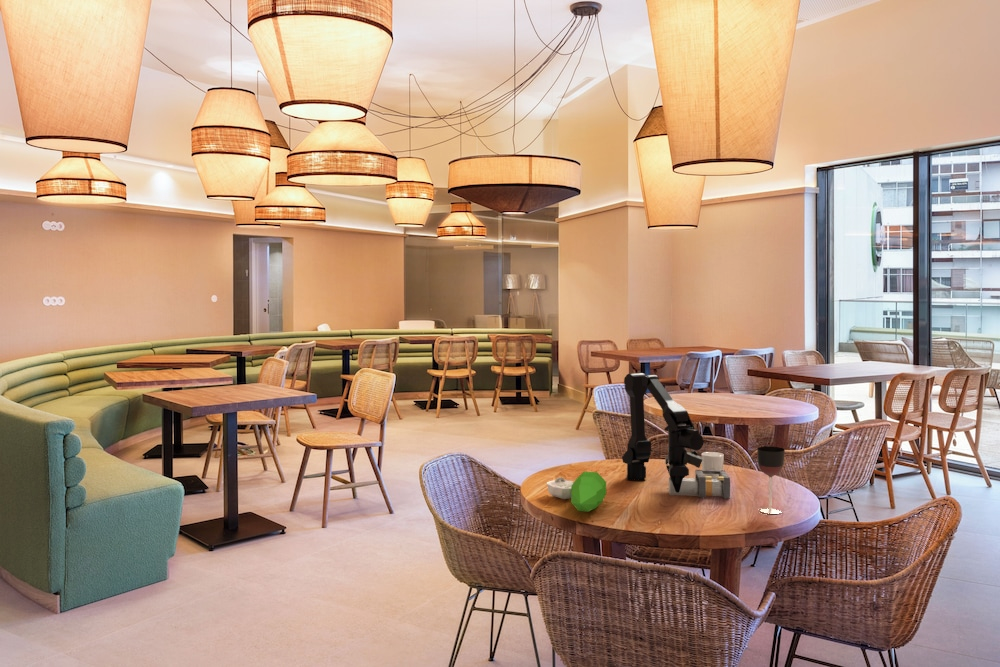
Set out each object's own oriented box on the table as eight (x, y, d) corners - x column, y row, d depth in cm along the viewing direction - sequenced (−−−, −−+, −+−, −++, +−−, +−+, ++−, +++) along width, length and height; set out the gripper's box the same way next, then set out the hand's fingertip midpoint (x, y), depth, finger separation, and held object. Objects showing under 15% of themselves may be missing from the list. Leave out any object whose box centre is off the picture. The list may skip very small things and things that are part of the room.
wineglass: (788, 511, 233) (789, 448, 232) (777, 517, 227) (777, 453, 226) (763, 506, 238) (764, 445, 237) (752, 512, 232) (752, 449, 231)
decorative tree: (602, 462, 249) (590, 480, 220) (615, 494, 248) (604, 516, 219) (571, 473, 252) (555, 492, 223) (584, 504, 251) (569, 528, 222)
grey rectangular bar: (670, 494, 253) (670, 480, 253) (668, 491, 257) (669, 477, 257) (730, 496, 250) (730, 482, 250) (727, 493, 255) (727, 478, 254)
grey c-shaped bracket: (699, 498, 249) (699, 476, 248) (695, 489, 259) (695, 469, 259) (729, 498, 247) (730, 477, 247) (724, 490, 258) (724, 470, 258)
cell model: (554, 504, 243) (554, 483, 243) (542, 494, 254) (542, 475, 254) (583, 501, 246) (583, 481, 245) (570, 492, 257) (570, 473, 257)
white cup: (726, 483, 268) (726, 456, 267) (704, 483, 268) (704, 456, 267) (720, 478, 276) (720, 451, 275) (699, 478, 276) (699, 451, 275)
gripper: (704, 451, 244) (704, 497, 245) (697, 440, 262) (696, 483, 263) (670, 450, 245) (670, 496, 246) (665, 439, 264) (664, 482, 264)
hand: (676, 489), depth 255 cm, fingers open, 6 cm apart
